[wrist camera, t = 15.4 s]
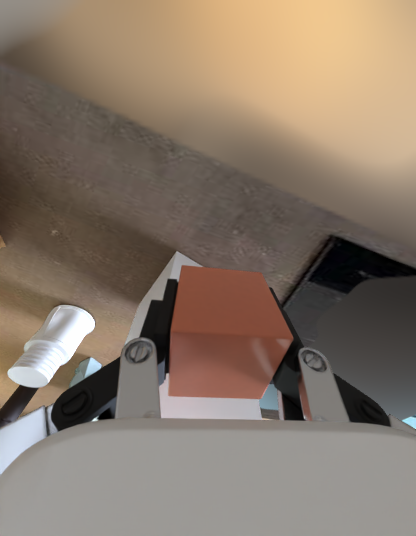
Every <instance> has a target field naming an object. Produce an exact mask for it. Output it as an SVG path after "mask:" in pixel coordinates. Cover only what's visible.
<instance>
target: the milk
mask: <svg viewBox="0 0 416 536" xmlns="http://www.w3.org/2000/svg"><path fill="white" fill-rule="evenodd" d="M182 265H187V266H197V267H203V266H201V265H199V264H198V263H196V262H194V261H193V260H191V259H189V258H188V257H186V256H184V255H183V254H181V253H179V252H178V251H176V253H175V254H174V255H173V257H172V258H171V260H170V261H169V263H168V264H167V266H166V267H165V268H164V270H163V271H162V273H161V274H160V276H159V277H158V278H157V280H156V281H155V283H154V284H153V286H152V287H151V288H150V290H149V291H148V293H147V294H146V296H145V297H144V299H143V300H142V301H141V303H140V304H139V306H138V309H137V312H136V315H135V317H134V320H133V323H132V325H131V328H130V331H129V334H128V336H127V339H126V342H125V344H124V346H125V345H126V344H127V343H128V342H129V341H131V340H133V339H135V338H139V336H140V333H141V330H142V327H143V324H144V321H145V318H146V315H147V312H148V308H149V305H150V302H151V300H152V299H153V300H162V299H163V295H164V291H165V287H166V283H167V280H168V278H169V279H177V282H179V277H180V271H181V266H182ZM120 356H121V355H120ZM168 377H169V373H166V380H164V383H163V384H162V385H161V386H159V395H160V409H161V418H187V419H244V420H262V417H261V411H260V405H259V399H238V398H206V397H174V396H168Z"/></svg>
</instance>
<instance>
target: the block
mask: <svg viewBox="0 0 416 536" xmlns="http://www.w3.org/2000/svg"><path fill="white" fill-rule="evenodd" d="M292 341H293V336H292V334H291V332H290V330H289V328H288V326H287V324H286V322H285V320H284V318H283V316H282V314H281V312H280V310H279V308H278V306H277V303H276V301H275V299H274V297H273V295H272V293H271V291H270V289H269V287H268V285H267V283H266V281H265V279H264V277H263V275H262V273H260V272H249V271H239V270H228V269H218V268H207V267H197V266H187V265H182V266H181V271H180V277H179V283H178V289H177V295H176V301H175V307H174V313H173V319H172V325H171V333H170V355H169V377H168V396H174V397H206V398H238V399H261V398H262V396H263V394H264V393H265V391H266V389H267V387H268V385H269V383H270V381H271V380H272V378H273V376H274V374H275V372H276V370H277V368H278V367H279V365H280V363H281V361H282V359H283V357H284V356H285V354H286V352H287V350H288V348H289V346H290V344H291V343H292Z"/></svg>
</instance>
